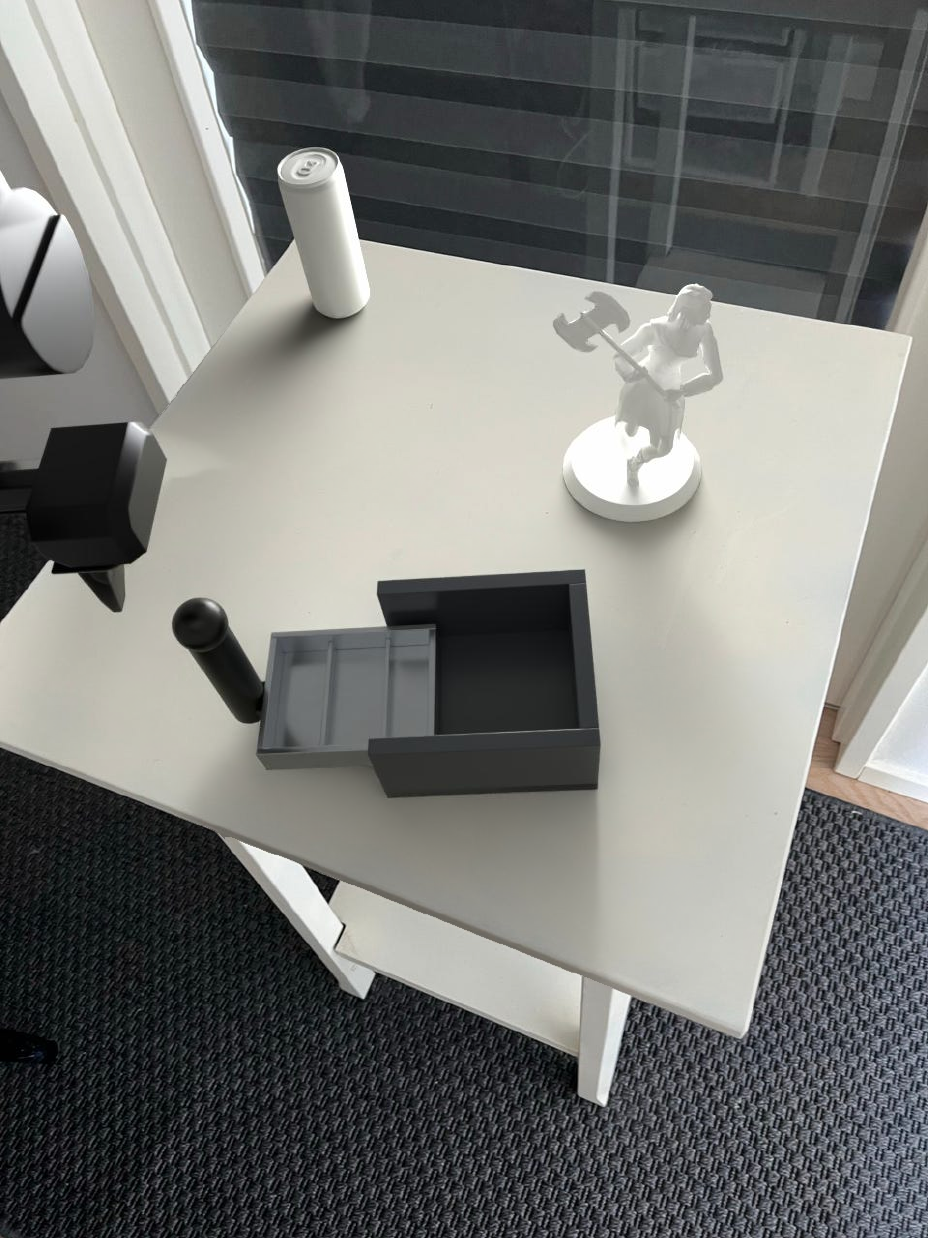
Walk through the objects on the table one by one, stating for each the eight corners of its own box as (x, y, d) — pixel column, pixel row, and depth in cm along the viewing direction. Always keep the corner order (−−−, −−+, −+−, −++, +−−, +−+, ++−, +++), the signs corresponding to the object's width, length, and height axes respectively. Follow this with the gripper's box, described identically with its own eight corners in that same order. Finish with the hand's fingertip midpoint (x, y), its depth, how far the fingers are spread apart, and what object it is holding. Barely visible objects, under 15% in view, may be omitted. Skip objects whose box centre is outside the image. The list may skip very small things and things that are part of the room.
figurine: (556, 522, 62) (551, 303, 47) (558, 418, 67) (555, 190, 52) (706, 521, 61) (750, 297, 46) (697, 416, 66) (735, 182, 51)
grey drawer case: (386, 798, 53) (367, 755, 48) (393, 634, 59) (377, 580, 54) (597, 790, 52) (600, 745, 47) (583, 623, 58) (585, 568, 53)
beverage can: (381, 289, 77) (353, 151, 67) (354, 327, 75) (320, 190, 65) (331, 278, 79) (296, 141, 68) (303, 314, 76) (262, 178, 66)
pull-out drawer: (222, 772, 54) (149, 681, 44) (239, 652, 58) (176, 547, 49) (438, 763, 53) (410, 668, 43) (440, 642, 57) (415, 532, 48)
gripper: (-550, 574, 30) (-206, 768, 43) (9, 537, 28) (188, 750, 41) (-381, 336, 36) (-125, 570, 49) (87, 295, 34) (221, 548, 47)
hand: (31, 610), depth 46 cm, fingers open, 9 cm apart
